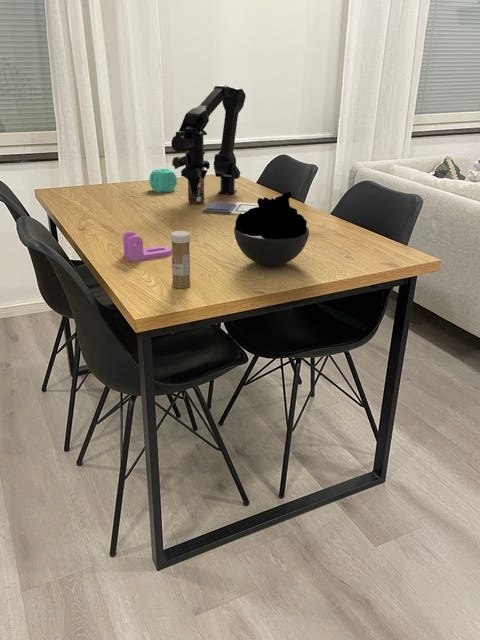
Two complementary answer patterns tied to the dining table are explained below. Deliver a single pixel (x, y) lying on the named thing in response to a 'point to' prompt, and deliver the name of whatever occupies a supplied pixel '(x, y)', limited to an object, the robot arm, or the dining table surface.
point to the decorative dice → (163, 180)
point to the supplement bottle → (199, 194)
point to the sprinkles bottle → (180, 259)
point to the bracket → (141, 248)
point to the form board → (243, 207)
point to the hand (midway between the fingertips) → (196, 191)
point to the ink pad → (219, 208)
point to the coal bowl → (271, 231)
